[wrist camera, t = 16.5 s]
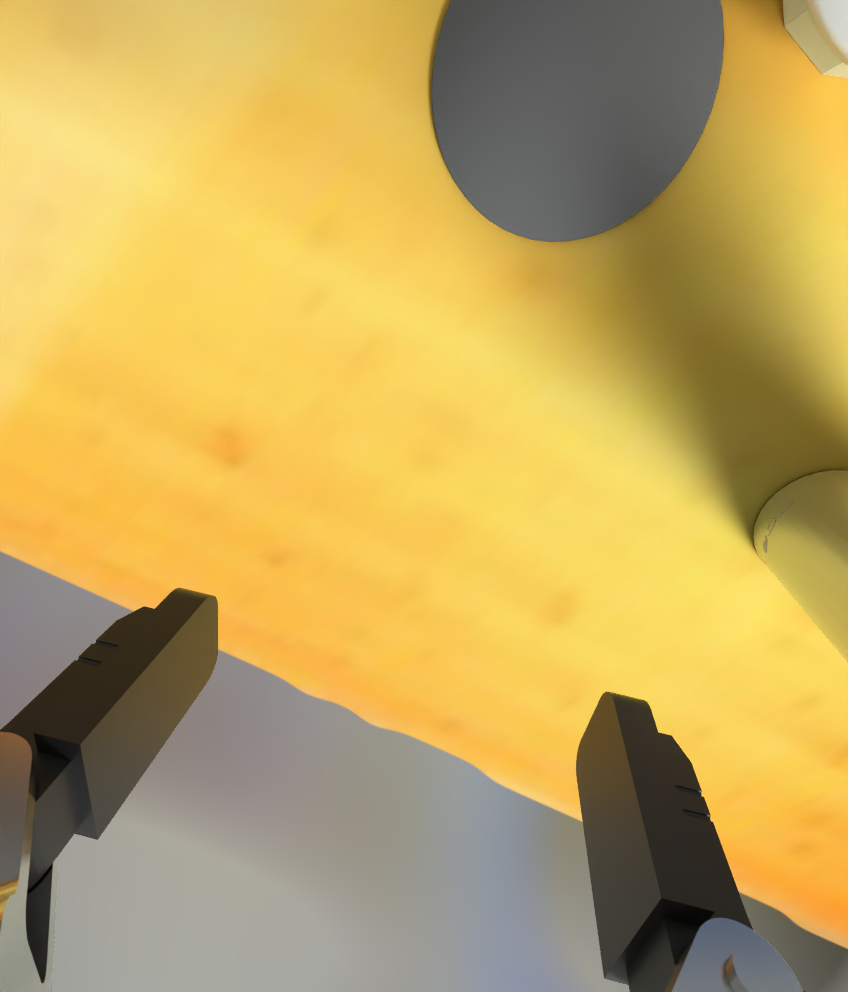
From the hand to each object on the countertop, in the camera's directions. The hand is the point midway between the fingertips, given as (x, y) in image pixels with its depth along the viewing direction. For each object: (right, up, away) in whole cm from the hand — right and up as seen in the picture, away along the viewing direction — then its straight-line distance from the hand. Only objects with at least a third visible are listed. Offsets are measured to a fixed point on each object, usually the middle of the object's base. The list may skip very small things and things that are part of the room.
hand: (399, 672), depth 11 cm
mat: (+9, +27, +19) cm, 34 cm away
